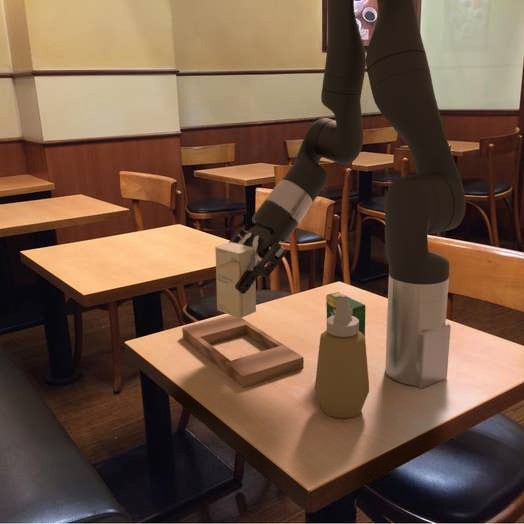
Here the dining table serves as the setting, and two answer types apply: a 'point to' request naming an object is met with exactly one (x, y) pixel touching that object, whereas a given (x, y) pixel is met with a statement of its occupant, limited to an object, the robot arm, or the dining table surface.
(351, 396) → the squeeze bottle
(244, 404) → the dining table surface
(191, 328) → the wooden frame
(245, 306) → the skincare box
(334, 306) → the coffee box
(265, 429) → the dining table surface
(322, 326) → the dining table surface
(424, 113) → the robot arm
